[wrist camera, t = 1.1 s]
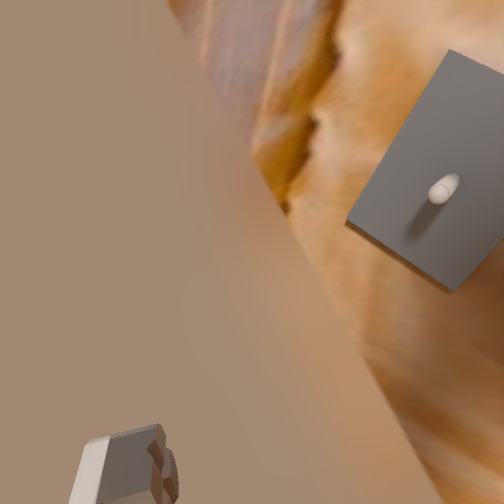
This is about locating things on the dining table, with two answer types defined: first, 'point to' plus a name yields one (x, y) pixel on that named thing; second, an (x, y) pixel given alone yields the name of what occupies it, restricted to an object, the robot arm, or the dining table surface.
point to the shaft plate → (443, 175)
